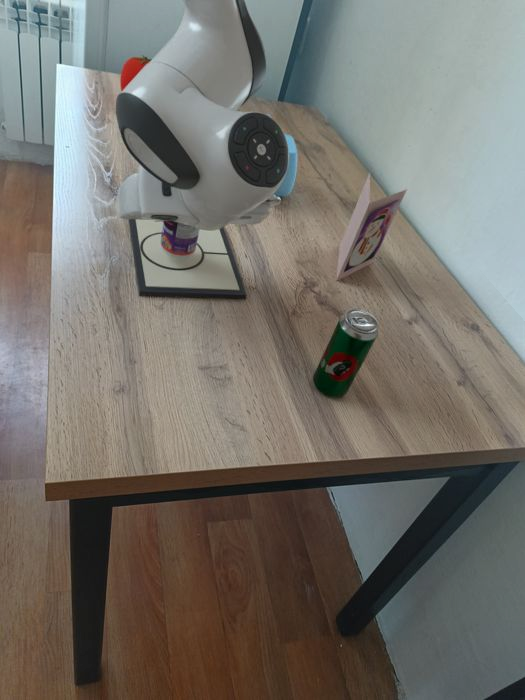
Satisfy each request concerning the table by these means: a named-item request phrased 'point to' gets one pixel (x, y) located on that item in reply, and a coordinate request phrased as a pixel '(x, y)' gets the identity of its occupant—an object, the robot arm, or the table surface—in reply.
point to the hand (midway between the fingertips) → (181, 217)
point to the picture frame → (184, 265)
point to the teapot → (291, 171)
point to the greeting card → (366, 230)
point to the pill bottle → (178, 239)
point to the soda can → (345, 352)
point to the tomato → (132, 69)
